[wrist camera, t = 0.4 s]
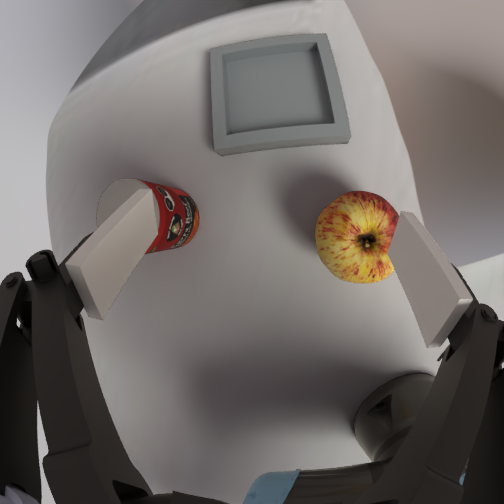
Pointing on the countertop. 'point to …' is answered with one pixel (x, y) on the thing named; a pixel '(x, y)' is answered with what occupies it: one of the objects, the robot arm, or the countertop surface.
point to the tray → (276, 95)
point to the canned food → (166, 211)
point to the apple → (357, 237)
